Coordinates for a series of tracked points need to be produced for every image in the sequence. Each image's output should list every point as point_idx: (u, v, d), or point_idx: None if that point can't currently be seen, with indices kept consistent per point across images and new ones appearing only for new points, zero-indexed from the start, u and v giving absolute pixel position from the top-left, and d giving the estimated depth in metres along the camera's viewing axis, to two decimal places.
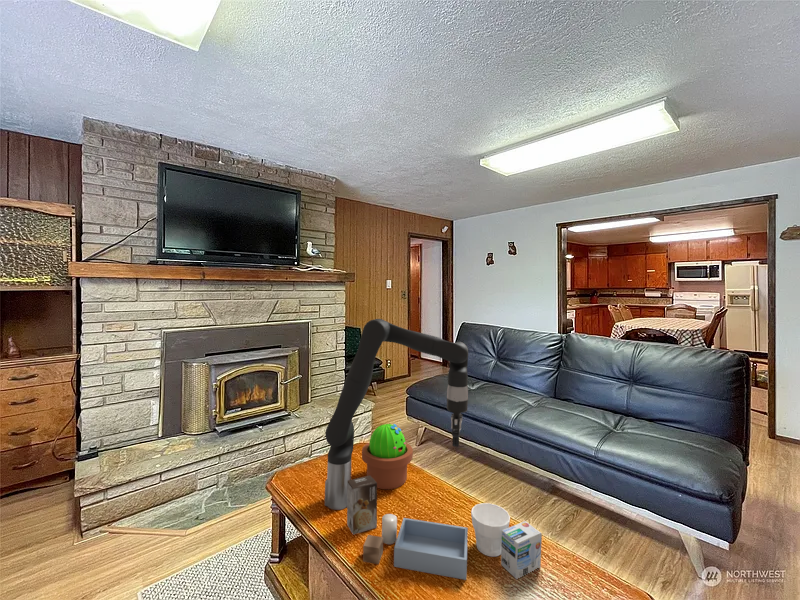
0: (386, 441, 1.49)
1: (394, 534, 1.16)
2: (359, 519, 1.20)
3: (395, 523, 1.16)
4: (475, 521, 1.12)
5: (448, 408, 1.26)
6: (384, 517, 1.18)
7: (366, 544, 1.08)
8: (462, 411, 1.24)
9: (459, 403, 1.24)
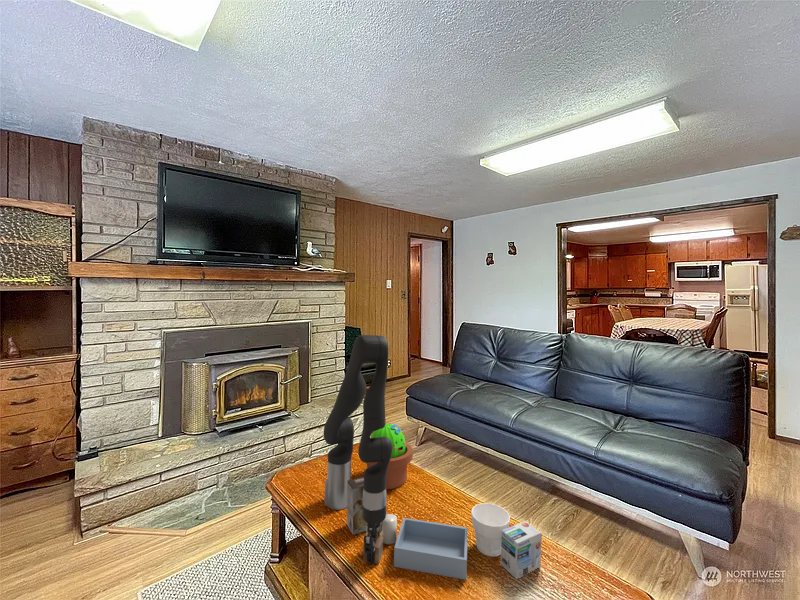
0: None
1: (394, 534, 1.16)
2: (359, 519, 1.20)
3: (395, 523, 1.16)
4: (475, 521, 1.12)
5: (362, 516, 1.08)
6: None
7: None
8: (377, 521, 1.06)
9: (374, 512, 1.06)
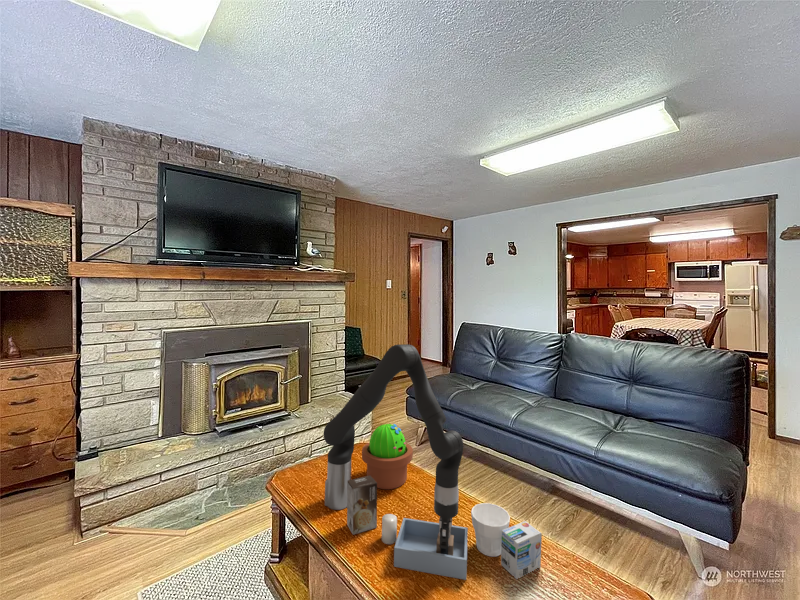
0: (386, 441, 1.49)
1: (394, 534, 1.16)
2: (359, 519, 1.20)
3: (395, 523, 1.16)
4: (475, 521, 1.12)
5: (435, 511, 1.08)
6: (384, 517, 1.18)
7: (439, 542, 1.09)
8: (452, 516, 1.06)
9: (448, 507, 1.06)
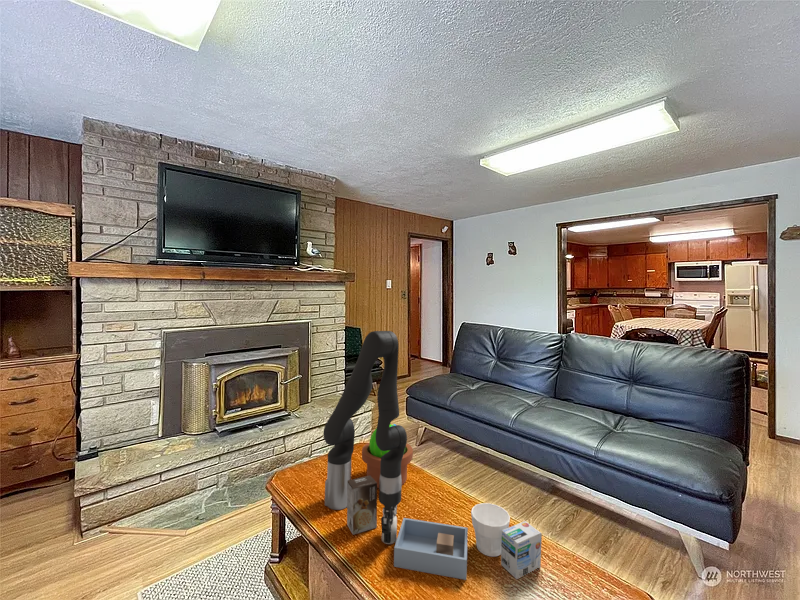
0: None
1: (394, 534, 1.16)
2: (359, 519, 1.20)
3: (395, 523, 1.16)
4: (475, 521, 1.12)
5: (379, 499, 1.16)
6: None
7: (439, 542, 1.09)
8: (393, 504, 1.14)
9: (390, 496, 1.14)
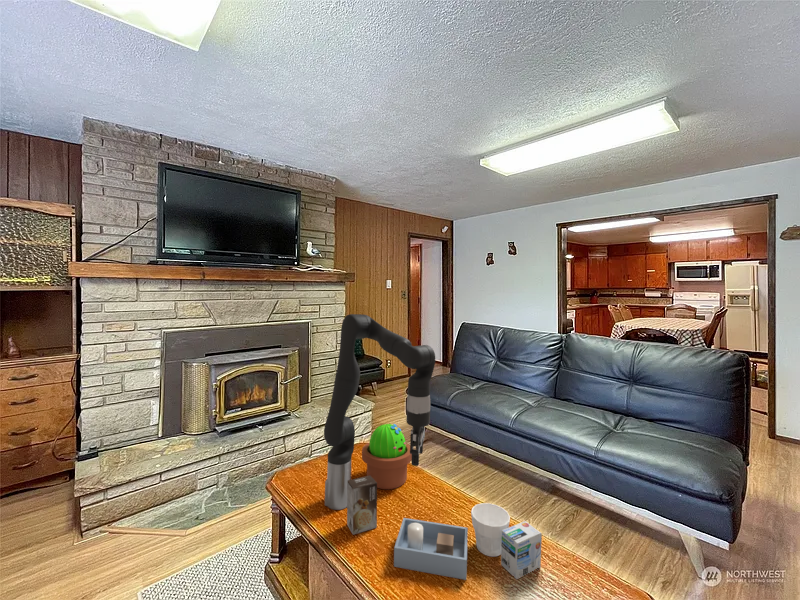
0: (386, 441, 1.49)
1: (421, 544, 1.10)
2: (359, 519, 1.20)
3: (422, 532, 1.11)
4: (475, 521, 1.12)
5: (407, 421, 1.10)
6: (410, 526, 1.12)
7: (439, 542, 1.09)
8: (423, 425, 1.08)
9: (419, 415, 1.08)
